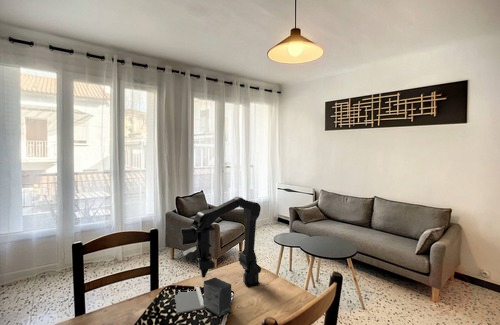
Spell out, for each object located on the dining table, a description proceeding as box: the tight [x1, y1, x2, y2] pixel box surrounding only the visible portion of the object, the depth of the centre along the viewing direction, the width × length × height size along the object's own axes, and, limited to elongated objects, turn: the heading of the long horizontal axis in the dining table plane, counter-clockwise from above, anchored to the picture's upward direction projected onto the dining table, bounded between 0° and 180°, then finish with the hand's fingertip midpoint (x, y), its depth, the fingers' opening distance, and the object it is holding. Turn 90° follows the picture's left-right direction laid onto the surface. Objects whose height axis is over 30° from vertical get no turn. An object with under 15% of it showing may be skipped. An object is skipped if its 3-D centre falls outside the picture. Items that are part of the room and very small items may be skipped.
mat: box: [174, 286, 206, 315], centre depth 111 cm, size 11×16×2 cm
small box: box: [203, 277, 232, 318], centre depth 104 cm, size 11×6×10 cm, turn 47°
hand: (203, 277), depth 113 cm, fingers closed
